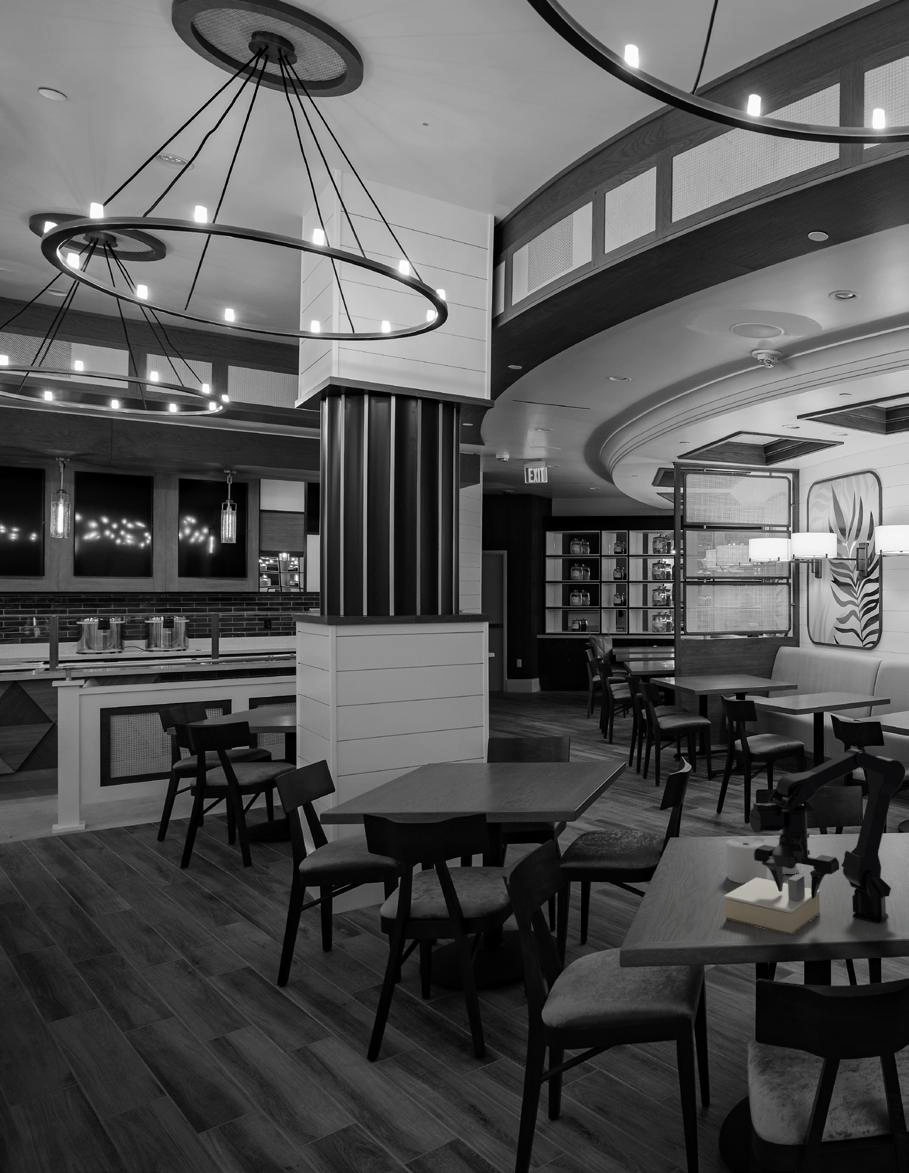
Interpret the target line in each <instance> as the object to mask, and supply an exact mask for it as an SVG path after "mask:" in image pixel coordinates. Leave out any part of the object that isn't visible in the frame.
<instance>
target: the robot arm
mask: <svg viewBox="0 0 909 1173" xmlns="http://www.w3.org/2000/svg"><path fill="white" fill-rule="evenodd" d="M858 769H862V770H865V771H866V780H867V784H868V788H869V791H868V792H869V793H868V797H867V801H866V805H865V809H864V814H863V819H862V822H861V826H860V830H859V835H858V840H857V843H856V847H854V849H852V851H849V850H845V852H844V855H843V856H844V857H843V862H842V863H841V867H842V874H843V875H844V878H845V879H846V880H848V882H849V885H850V887H851V888H854V892H853V893H854V894H853V895H852V897H851V898H852V899H851V900H852V901H851V902H852V912H853V914H852V918H857V919H860V920H866V921H868V922H869V921H870V922H875V923H879V924H880V923H883V921H885V920H886V919H888V917H889V914H888V913H887V910H886V909H887V908H886V907H887V905H886V897H890V894H891V890H892V887H891V886H890V885H889V884H888V883H886V881H885V880H883V879H882V877H881V874H882V864H881V861H880V856H879V852H880V851H879V850H880V847H881V843H882V839H883V834H884V830H885V825H886V821H887V817H888V813H889V808H890V805H891V800H892V796H894V795H895V793H897V791H898V790H899V789H900V788H901V787H902V783H903V782H904V779H905V777H906V767H904V765H903V763H902V762H900V761H898V760H897V759H894V758H893V759H892V758H889V757H885V756H880V755H877V756H875V755H872V754H870V753H867V752H866V751H864V750H861V749H858V748H849V749H846V751H845V752H843V753H841V754H839V755H837V756H835V757H834V758H831V759H829V760H827V761H825V762H824V763H821V764H819V765H818V766H815V767H814V768H812V769H810V770H807V771H802V772H795V773H791V774H788V775H785V776H782V777H781V778H779V779H778V780H777V784H776V788H775V789H774V791H773V792H772V793H771V795H770V797H769V799H768V800H767V803H759V802H757V803H755V802H754V803H753V804H752V805H753V808H752V809H751V810H750V813H749V815H748V820H749V825H750V827H751V829H752V831H753V833H759V834H760V833H771V832H775V833H776V832H781V834H780V835H779V836H780V842H779V841H778V844H777V845H776V846H774V845H768V844H766V845H762V846H760V847H758V848H756V849H755V851H754V860H756V861H761V862H762V864H763V865H765V866H767V869H768V870H769V871H770V873H771V875H772V877H773V879H774V880H773V881H775V882H776V885H777V888H778V890H779V892H781V891H782V888H783V883H784V880H783V879H784V876H783V869H782V867H786V868H788V869H792V868H794V867H795V865H797V864H800V865H805V866H811V867H813V870H811V871H810V872H809V874H810V876H811V877H810V878H811V886H810V888H811V895H812V898H813V899H814V898H815V896H816V894H817V891H818V890H820V886H821V883H822V881H823V880H824V877H825V876H826V875H832V874H834V873H835V872H837V871H838V870H840V861H839V860H838V859H837V857H835V856H829V855H824V854H820V855H818V857H811V856H810V854H811V853H810V852H811V851H810V849H808V847H809V845H808V839H809V838H810V833H809V832H808V821H807V820H808V818H807V813H810V812H811V813H813V812H816V808H815V807H813V806H812V805H811V804H810V803H809V800H810V799H813V797H815V796H816V794H817V793H818V790H820V789H821V788H822V787H824V786H826V785H828V784H830V783H832V782H834V781H836V780H838V779H840V778H842V777H844V776H846V775H847V774H850V773H852V772H853V771H856V770H858ZM783 799H784V800H783Z"/></svg>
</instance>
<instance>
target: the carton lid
mask: <svg viewBox="0 0 909 1173" xmlns="http://www.w3.org/2000/svg"><path fill="white" fill-rule="evenodd" d="M805 885H806V884H805V875H803V874H799V873H797V874H795V875H791V877H789V878H788V879H787V883H785V882H783V888H782V891H781V892H779V890H778V888H777V885H776V882H775V880H773V879H772V880H771V879H768V878H767V879H762V878H757V877H756V878H754V879H752V880H751V881H749V882H747V883H745V884H742V885H740V886H739V887H737V888H735V889H733V890H732V891H730V892H728V893H726V894H725V895H724V899H731V900H735V901H740V902H744V903H748V904H753V905H757V906H762V907H766V908H770V909H775V910H779V911H784V912H788V913H792V912H793V911H795V910H796V909H798V908H799V907H801V906H802V905H803V904H805V903H806V902H808V901H809V900H811V899H812V895H811V887H806V886H805ZM818 894H819V895H820V894H821V890H820V889H818V891H817V894H816V895H818Z"/></svg>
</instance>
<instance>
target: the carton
mask: <svg viewBox="0 0 909 1173" xmlns="http://www.w3.org/2000/svg"><path fill="white" fill-rule="evenodd" d="M820 907H821V906H820V893H819V894H818V895H816V896H815V898H814V899H813V898H812V899H811V900H809V901H808V902H806V903H805V904H803V905H802V906H801V907H799V908H798V909H796V910H795V911H793V912H792V913H788V912H784V911H779V910H775V909H770V908H766V907H762V906H757V905H753V904H748V903H744V902H740V901H735V900H731V899H727V898H725V917H726V918H725V920H726V921H729V920H730V922H735V923H738V924H742V923H743V924H742V925H746V924H748V925H747V926H750V925H752V926H751V927H754V926H757V927H756V928H758V927H761V928H760V929H762V928H765V929H764V930H766V929H768V930H767V931H770V930H772V931H771V932H774V931H776V932H775V933H778V932H781V933H780V934H782V933H785V934H784V935H786V934H789V935H788V936H790V935H791V936H793V935H794V934H795V933H794V932H796V931H797V930H798V929H799V928H801V927H802V926H803V925H805V924H806V923H808V922H809V921H810V920H812V919H813V918H814V917H815V916H817V915H818V916H820V915H821V912H820V911H821V908H820ZM819 914H820V915H819ZM818 916H817V917H818ZM814 919H815V918H814ZM814 919H813V920H814ZM813 920H812V921H813ZM810 922H811V921H810ZM810 922H809V923H810ZM809 923H808V924H809ZM806 925H807V924H806ZM806 925H805V926H806ZM802 928H803V927H802ZM802 928H801V929H802ZM798 931H799V930H798ZM798 931H797V932H798ZM797 932H796V933H797ZM793 933H794V934H793ZM792 934H793V935H792Z"/></svg>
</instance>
